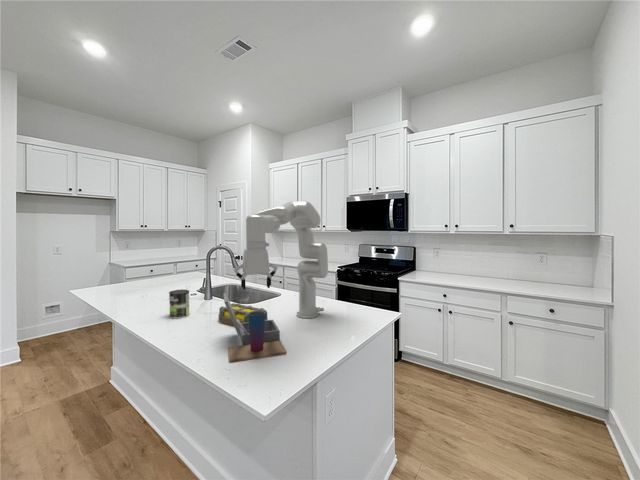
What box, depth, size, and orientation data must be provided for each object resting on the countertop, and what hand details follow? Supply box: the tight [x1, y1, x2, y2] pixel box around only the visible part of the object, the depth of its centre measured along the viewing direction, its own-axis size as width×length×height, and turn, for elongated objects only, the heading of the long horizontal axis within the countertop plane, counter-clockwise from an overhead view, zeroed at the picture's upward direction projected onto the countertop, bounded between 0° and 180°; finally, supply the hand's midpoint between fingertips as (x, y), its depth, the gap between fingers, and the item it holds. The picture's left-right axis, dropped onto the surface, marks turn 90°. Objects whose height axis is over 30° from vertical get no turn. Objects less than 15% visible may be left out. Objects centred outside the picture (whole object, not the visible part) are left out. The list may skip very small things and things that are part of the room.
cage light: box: [218, 302, 269, 328], centre depth 153 cm, size 15×8×30 cm
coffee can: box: [168, 289, 190, 320], centre depth 163 cm, size 10×10×14 cm
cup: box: [248, 311, 265, 352], centre depth 117 cm, size 7×7×15 cm
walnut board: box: [227, 340, 287, 364], centre depth 117 cm, size 22×12×1 cm, turn 110°
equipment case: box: [236, 319, 281, 346], centre depth 132 cm, size 18×16×12 cm
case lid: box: [223, 292, 241, 337], centre depth 128 cm, size 16×16×1 cm
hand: (256, 288), depth 116 cm, fingers open, 9 cm apart
